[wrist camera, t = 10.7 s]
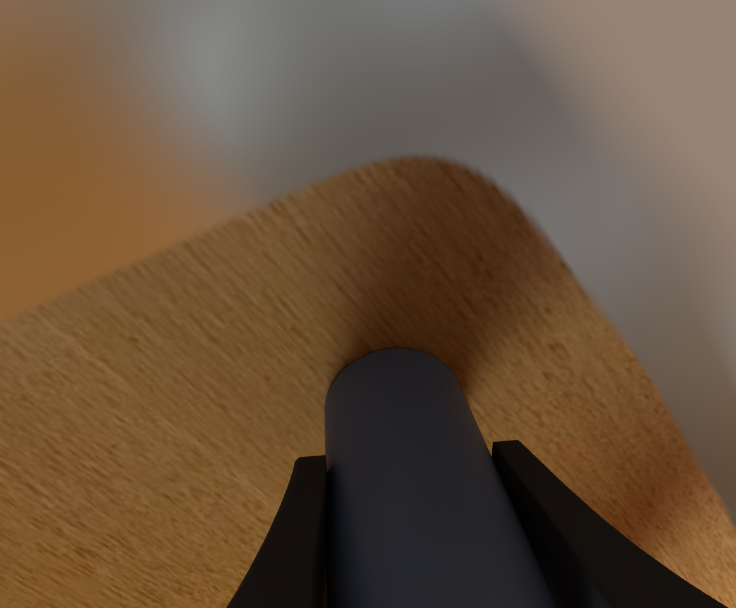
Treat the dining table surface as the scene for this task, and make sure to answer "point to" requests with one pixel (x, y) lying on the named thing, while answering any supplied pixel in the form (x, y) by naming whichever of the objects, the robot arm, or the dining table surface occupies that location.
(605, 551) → the robot arm
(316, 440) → the dining table surface
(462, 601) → the blue gray cylinder
